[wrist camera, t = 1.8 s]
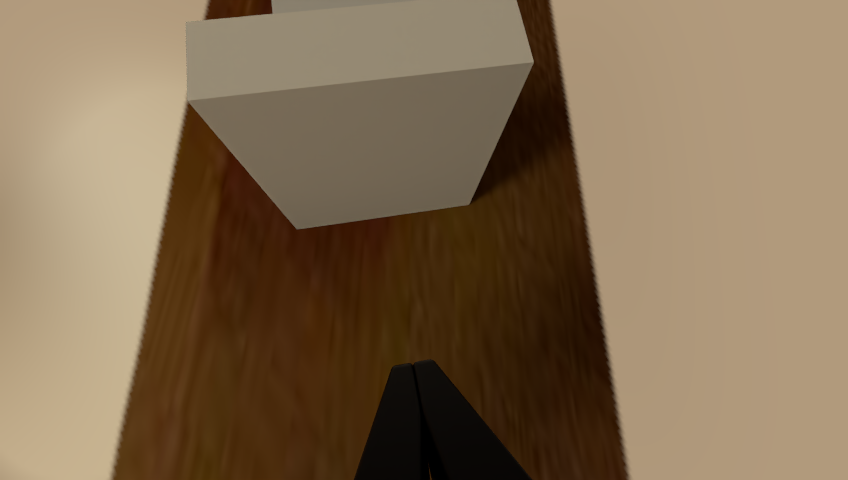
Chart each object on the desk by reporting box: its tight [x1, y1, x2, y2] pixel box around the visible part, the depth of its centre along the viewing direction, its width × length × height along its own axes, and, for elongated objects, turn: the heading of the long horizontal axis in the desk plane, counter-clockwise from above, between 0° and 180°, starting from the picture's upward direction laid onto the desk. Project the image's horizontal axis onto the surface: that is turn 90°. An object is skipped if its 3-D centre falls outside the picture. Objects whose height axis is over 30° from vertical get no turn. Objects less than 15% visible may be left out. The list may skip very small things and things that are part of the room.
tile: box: [186, 0, 534, 229], centre depth 16 cm, size 3×9×11 cm, turn 100°
